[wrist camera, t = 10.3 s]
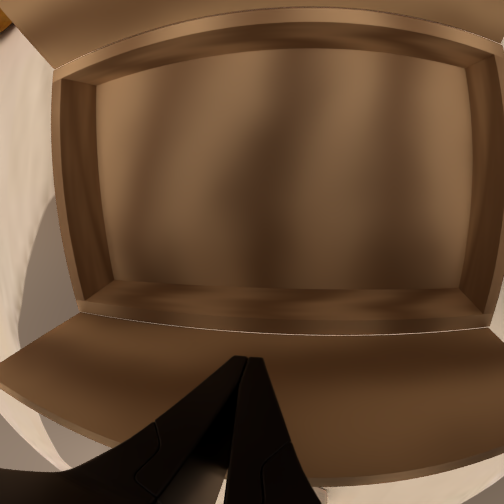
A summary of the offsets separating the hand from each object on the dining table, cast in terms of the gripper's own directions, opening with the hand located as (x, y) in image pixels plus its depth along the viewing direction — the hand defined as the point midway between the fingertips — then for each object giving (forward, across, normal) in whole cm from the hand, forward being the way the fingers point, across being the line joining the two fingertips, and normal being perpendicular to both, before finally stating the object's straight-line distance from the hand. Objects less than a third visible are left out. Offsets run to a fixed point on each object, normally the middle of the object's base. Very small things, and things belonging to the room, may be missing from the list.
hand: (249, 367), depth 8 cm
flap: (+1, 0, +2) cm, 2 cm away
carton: (+10, 0, -5) cm, 11 cm away
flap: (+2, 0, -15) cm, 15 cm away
